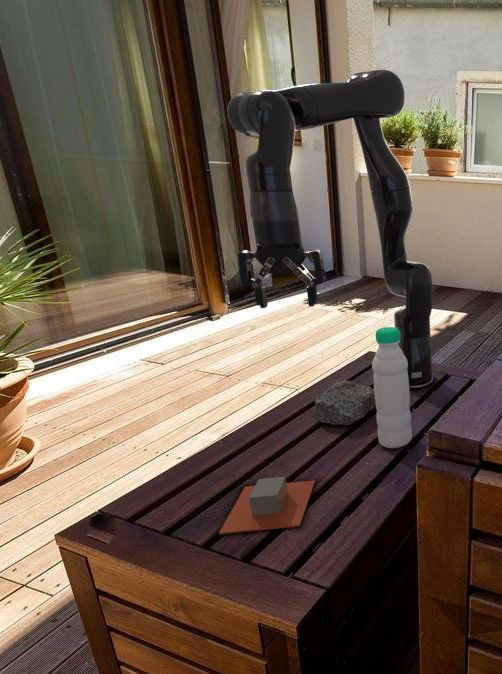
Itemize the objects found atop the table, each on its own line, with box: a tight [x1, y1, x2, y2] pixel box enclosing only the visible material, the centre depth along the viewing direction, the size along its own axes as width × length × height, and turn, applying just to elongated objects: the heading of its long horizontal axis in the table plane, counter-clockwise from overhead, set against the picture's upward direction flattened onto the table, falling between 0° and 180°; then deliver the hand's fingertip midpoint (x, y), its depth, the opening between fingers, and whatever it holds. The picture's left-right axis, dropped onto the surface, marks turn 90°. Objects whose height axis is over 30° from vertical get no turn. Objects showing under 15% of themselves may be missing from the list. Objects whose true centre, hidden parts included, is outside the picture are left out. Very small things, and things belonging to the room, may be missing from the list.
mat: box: [218, 480, 316, 535], centre depth 80 cm, size 12×12×1 cm
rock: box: [314, 379, 376, 426], centre depth 111 cm, size 13×6×15 cm
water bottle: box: [371, 326, 413, 449], centre depth 96 cm, size 7×7×25 cm
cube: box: [249, 476, 288, 516], centre depth 79 cm, size 5×4×4 cm
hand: (288, 306), depth 88 cm, fingers open, 8 cm apart
